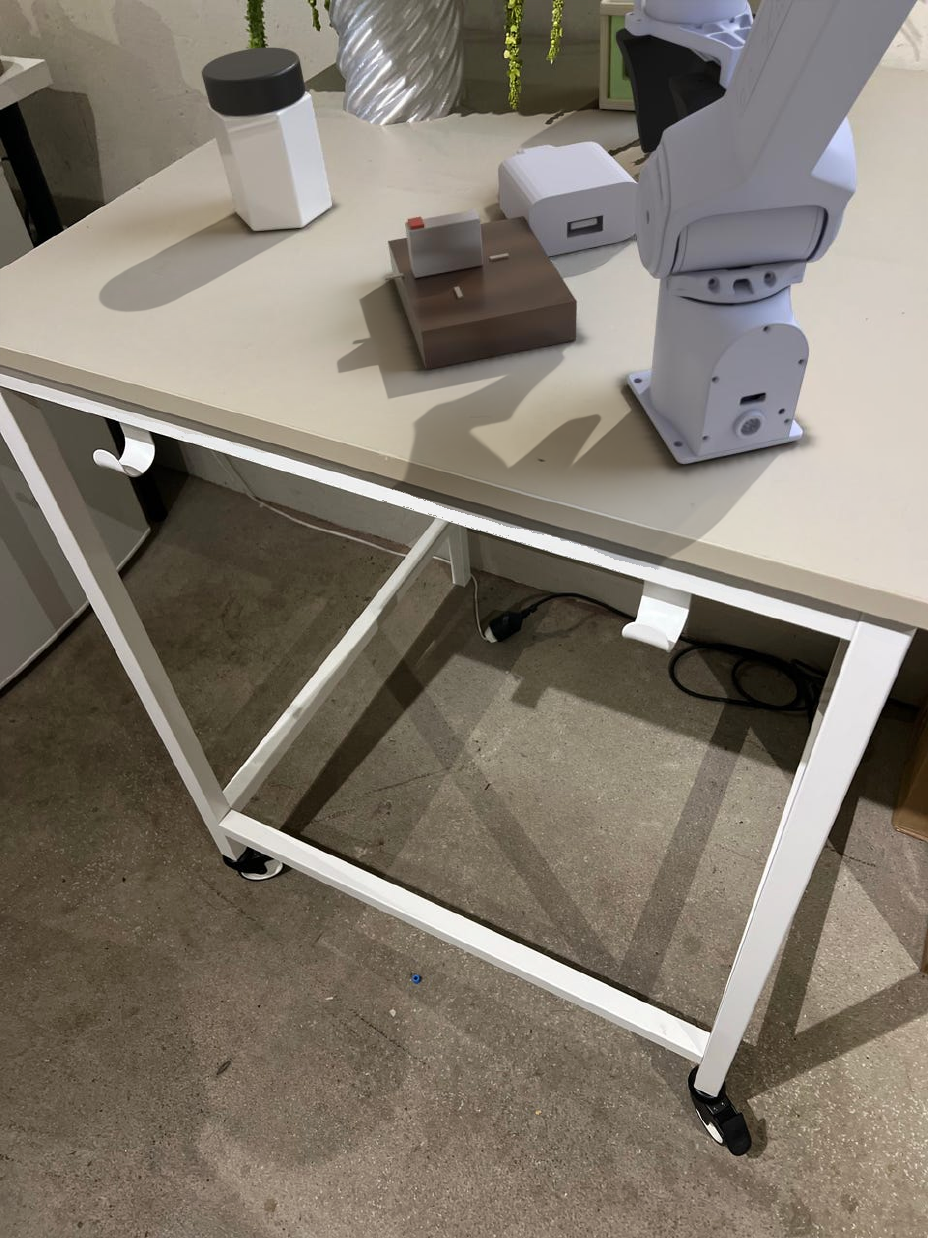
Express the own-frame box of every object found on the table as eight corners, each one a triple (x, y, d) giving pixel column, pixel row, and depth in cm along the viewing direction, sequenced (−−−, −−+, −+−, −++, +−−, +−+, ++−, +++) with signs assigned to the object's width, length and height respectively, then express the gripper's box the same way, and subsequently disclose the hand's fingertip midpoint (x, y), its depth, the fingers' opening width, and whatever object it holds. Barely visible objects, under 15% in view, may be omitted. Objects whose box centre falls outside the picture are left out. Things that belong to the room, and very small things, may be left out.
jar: (337, 187, 82) (310, 41, 73) (327, 227, 77) (297, 75, 68) (245, 195, 83) (206, 51, 74) (229, 234, 78) (185, 85, 69)
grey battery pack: (478, 255, 65) (475, 205, 62) (483, 265, 64) (480, 214, 61) (410, 268, 65) (404, 218, 62) (414, 278, 63) (408, 227, 61)
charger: (576, 168, 81) (637, 238, 71) (481, 187, 80) (530, 260, 70) (577, 113, 77) (642, 178, 67) (477, 132, 76) (528, 200, 66)
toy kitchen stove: (594, 111, 90) (599, -45, 80) (616, 85, 94) (622, -66, 84) (676, 117, 87) (691, -44, 77) (694, 90, 91) (711, -66, 81)
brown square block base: (576, 340, 62) (577, 298, 60) (409, 373, 61) (403, 332, 59) (524, 252, 71) (523, 213, 69) (378, 279, 70) (372, 241, 68)
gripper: (591, -106, 51) (585, 140, 61) (686, -45, 42) (660, 232, 52) (705, -124, 52) (680, 122, 62) (823, -68, 42) (770, 210, 53)
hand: (677, 171), depth 57 cm, fingers open, 7 cm apart
